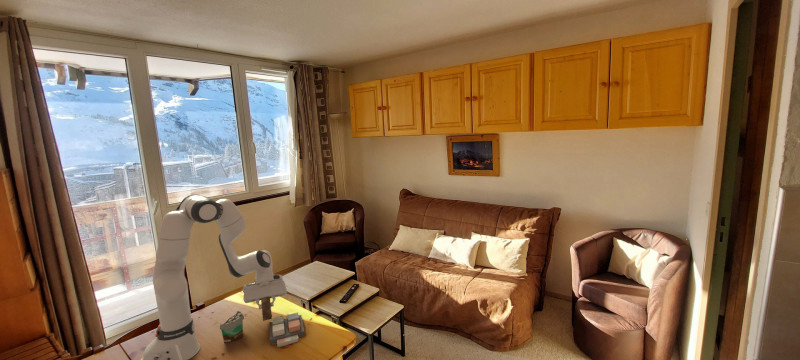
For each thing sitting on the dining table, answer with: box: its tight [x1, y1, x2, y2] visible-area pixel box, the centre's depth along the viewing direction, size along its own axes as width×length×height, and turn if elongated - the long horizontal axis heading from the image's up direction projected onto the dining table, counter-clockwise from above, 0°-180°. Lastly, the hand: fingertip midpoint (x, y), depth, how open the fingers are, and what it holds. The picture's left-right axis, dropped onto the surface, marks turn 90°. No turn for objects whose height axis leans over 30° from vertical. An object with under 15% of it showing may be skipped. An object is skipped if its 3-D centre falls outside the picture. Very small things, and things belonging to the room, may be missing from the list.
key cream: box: [273, 323, 285, 337], centre depth 151 cm, size 5×5×2 cm
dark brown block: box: [260, 297, 273, 322], centre depth 162 cm, size 4×4×10 cm
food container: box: [219, 310, 245, 344], centre depth 152 cm, size 12×6×10 cm, turn 168°
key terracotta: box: [288, 320, 301, 333], centre depth 153 cm, size 5×5×2 cm
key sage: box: [271, 315, 285, 326], centre depth 157 cm, size 5×5×2 cm
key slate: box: [287, 312, 300, 322], centre depth 160 cm, size 5×5×2 cm
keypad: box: [269, 314, 306, 348], centre depth 154 cm, size 15×18×2 cm
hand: (266, 307), depth 161 cm, fingers closed on dark brown block, 4 cm apart
